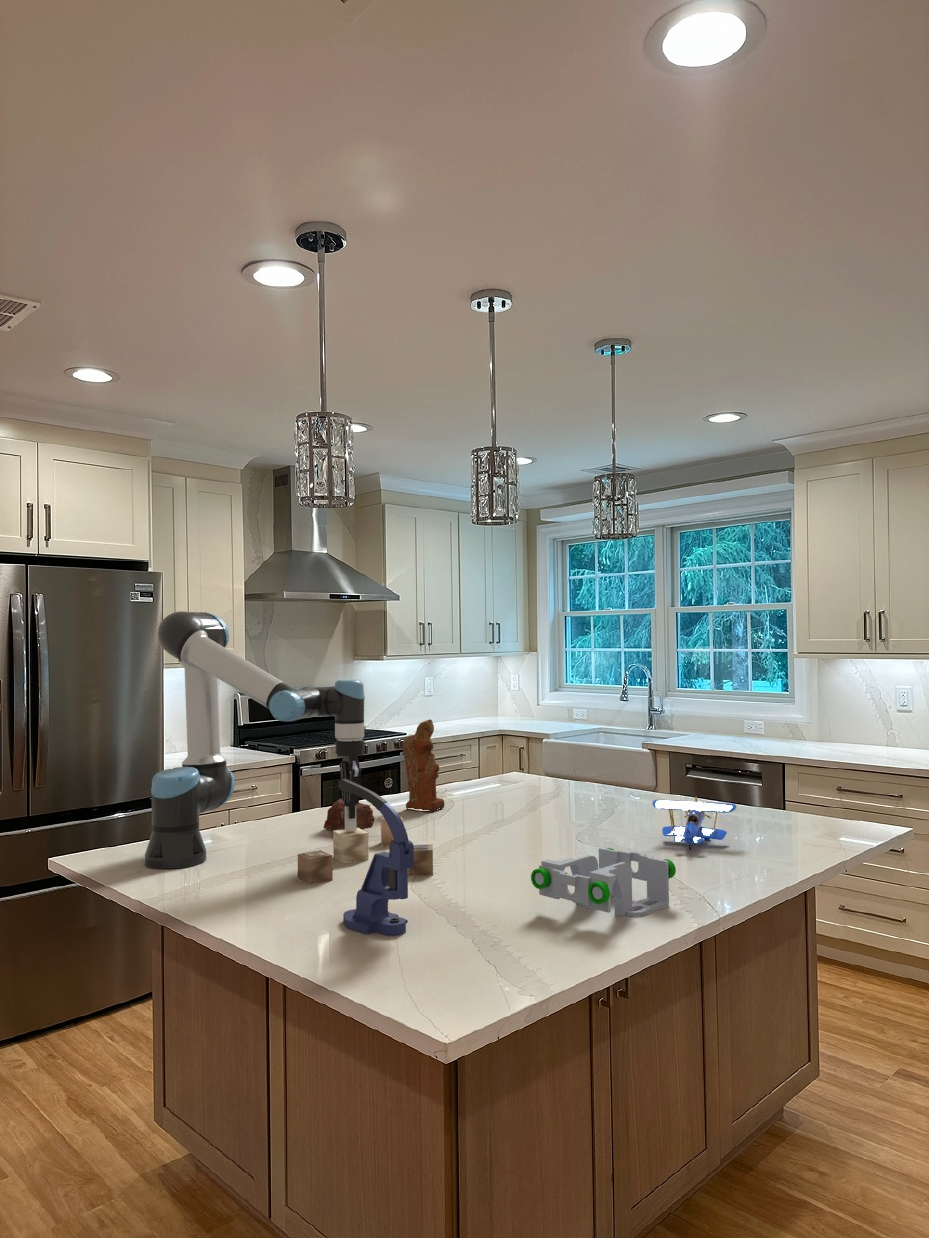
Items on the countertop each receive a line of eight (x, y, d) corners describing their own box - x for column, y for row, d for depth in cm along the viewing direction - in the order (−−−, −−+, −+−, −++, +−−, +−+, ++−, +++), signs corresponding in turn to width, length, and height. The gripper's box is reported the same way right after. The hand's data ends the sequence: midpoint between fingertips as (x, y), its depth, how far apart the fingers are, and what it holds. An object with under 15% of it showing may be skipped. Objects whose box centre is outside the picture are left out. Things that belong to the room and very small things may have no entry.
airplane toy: (724, 882, 223) (731, 837, 219) (638, 861, 230) (644, 817, 226) (731, 835, 246) (738, 793, 242) (653, 817, 253) (658, 777, 249)
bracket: (531, 911, 178) (530, 862, 178) (604, 886, 196) (603, 842, 196) (605, 932, 165) (604, 879, 165) (676, 903, 182) (675, 856, 183)
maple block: (342, 863, 219) (342, 835, 219) (333, 857, 225) (333, 830, 225) (368, 860, 222) (368, 832, 223) (358, 854, 229) (358, 827, 229)
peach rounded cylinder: (384, 846, 237) (384, 820, 237) (378, 842, 242) (378, 816, 242) (405, 844, 239) (405, 818, 239) (398, 839, 245) (398, 815, 245)
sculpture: (448, 808, 289) (447, 719, 290) (433, 813, 282) (432, 721, 283) (416, 805, 296) (415, 717, 297) (400, 809, 289) (400, 719, 290)
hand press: (423, 929, 167) (422, 784, 168) (391, 942, 161) (390, 791, 162) (357, 911, 180) (356, 776, 180) (324, 922, 173) (323, 781, 174)
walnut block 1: (309, 885, 200) (309, 858, 200) (297, 879, 205) (297, 853, 205) (332, 880, 204) (332, 854, 204) (320, 875, 208) (320, 849, 208)
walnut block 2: (408, 875, 207) (407, 849, 207) (408, 869, 213) (408, 844, 213) (433, 875, 207) (432, 849, 207) (432, 868, 213) (432, 843, 213)
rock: (376, 834, 253) (376, 803, 253) (361, 838, 248) (361, 806, 248) (333, 826, 264) (333, 796, 264) (317, 829, 259) (317, 799, 259)
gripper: (371, 740, 220) (371, 834, 219) (357, 736, 232) (357, 824, 231) (342, 742, 217) (342, 837, 217) (329, 737, 229) (330, 827, 229)
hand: (350, 830), depth 224 cm, fingers closed
